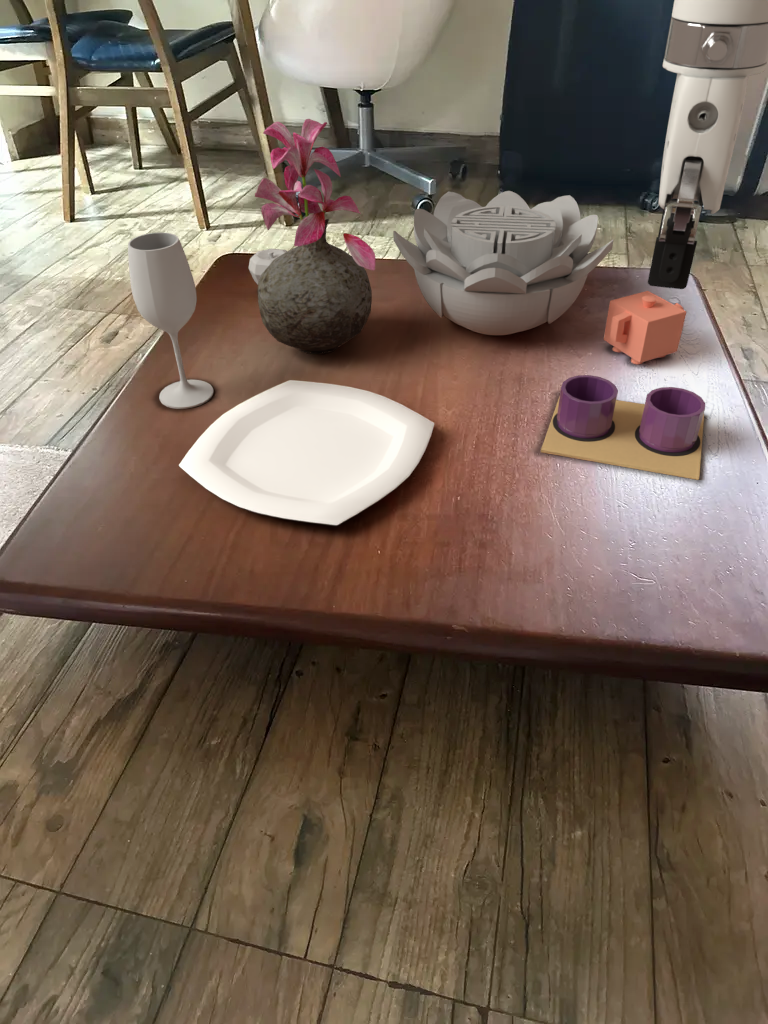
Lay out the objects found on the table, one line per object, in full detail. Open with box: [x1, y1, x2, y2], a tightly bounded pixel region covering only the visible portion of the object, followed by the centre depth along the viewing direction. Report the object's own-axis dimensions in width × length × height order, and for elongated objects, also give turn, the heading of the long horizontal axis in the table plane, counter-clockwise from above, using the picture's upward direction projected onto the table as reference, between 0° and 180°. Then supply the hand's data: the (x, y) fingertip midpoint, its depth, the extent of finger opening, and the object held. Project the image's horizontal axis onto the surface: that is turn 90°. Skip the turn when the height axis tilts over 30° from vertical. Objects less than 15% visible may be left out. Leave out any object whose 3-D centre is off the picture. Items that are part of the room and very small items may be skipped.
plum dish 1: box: [557, 374, 619, 439], centre depth 95 cm, size 7×7×5 cm
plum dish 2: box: [639, 386, 706, 453], centre depth 93 cm, size 7×7×5 cm
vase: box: [254, 118, 377, 355], centre depth 107 cm, size 17×17×30 cm
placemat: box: [540, 395, 705, 481], centre depth 96 cm, size 18×14×1 cm
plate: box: [178, 379, 435, 527], centre depth 93 cm, size 27×27×2 cm
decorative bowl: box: [392, 190, 614, 336], centre depth 115 cm, size 30×30×15 cm
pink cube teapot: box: [603, 290, 687, 365], centre depth 109 cm, size 8×12×8 cm, turn 116°
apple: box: [248, 248, 288, 286], centre depth 129 cm, size 8×8×7 cm
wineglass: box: [127, 231, 214, 410], centre depth 99 cm, size 8×8×21 cm
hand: (670, 264), depth 70 cm, fingers open, 9 cm apart
